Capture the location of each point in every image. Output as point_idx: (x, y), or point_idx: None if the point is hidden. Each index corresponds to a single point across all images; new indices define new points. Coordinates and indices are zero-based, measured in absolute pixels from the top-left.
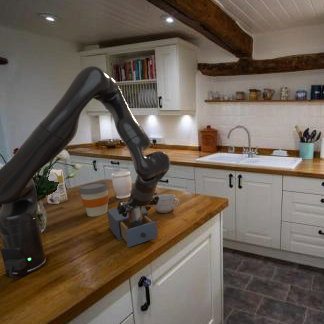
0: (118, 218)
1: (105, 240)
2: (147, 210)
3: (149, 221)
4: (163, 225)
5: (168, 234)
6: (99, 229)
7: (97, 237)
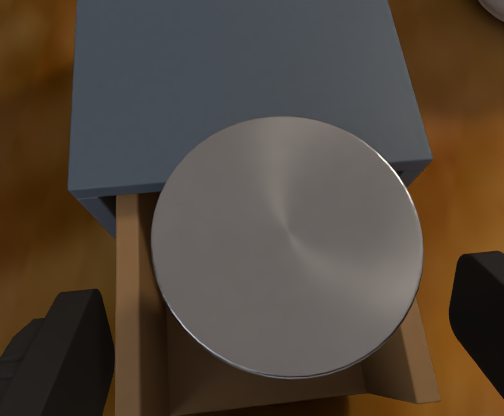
0: (105, 143)
1: (55, 196)
2: (473, 352)
3: (407, 376)
4: (475, 215)
5: (494, 411)
6: (72, 16)
7: (27, 119)
